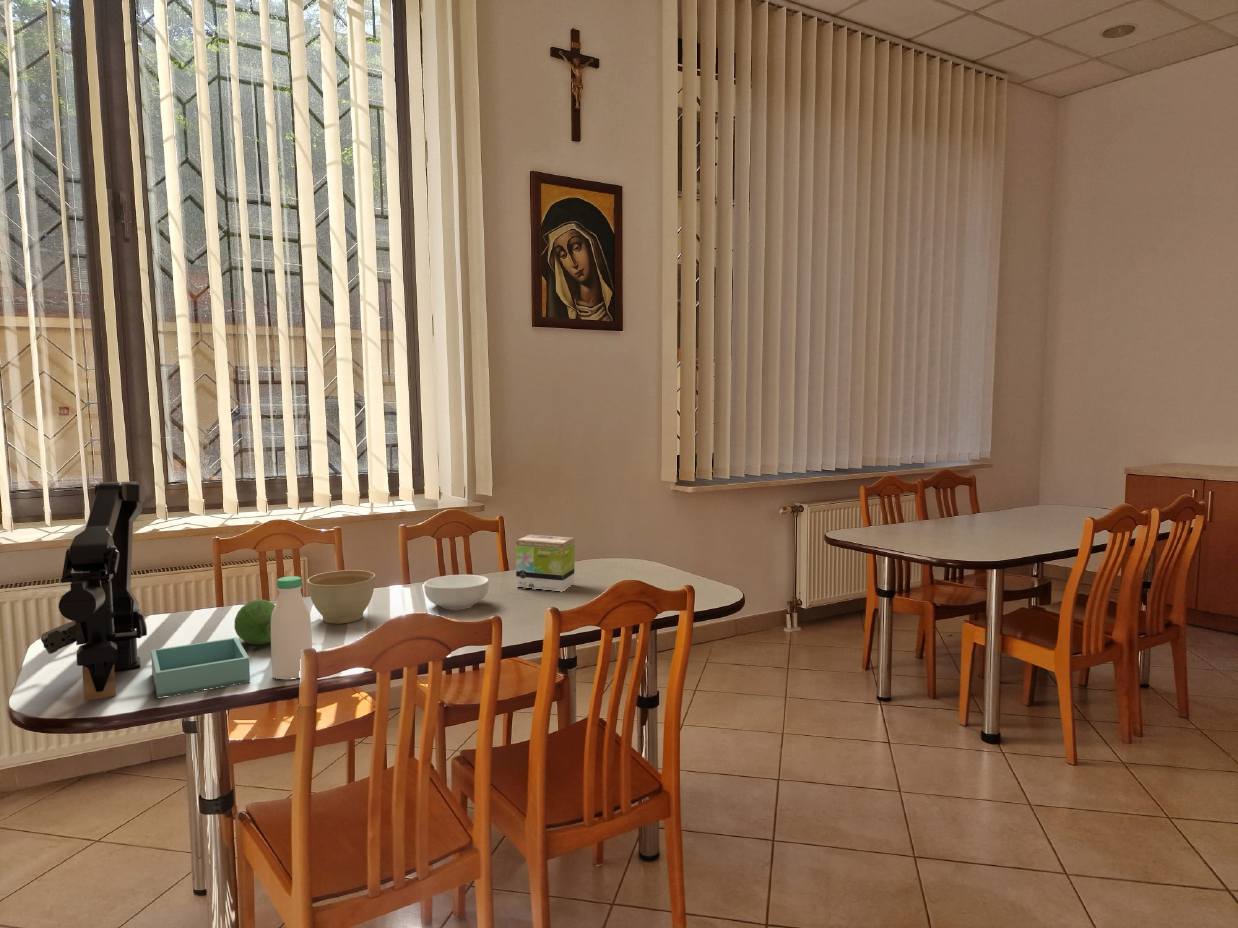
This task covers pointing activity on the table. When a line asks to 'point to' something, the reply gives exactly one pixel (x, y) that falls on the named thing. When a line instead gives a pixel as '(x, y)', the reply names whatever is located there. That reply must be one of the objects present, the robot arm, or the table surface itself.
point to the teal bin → (199, 666)
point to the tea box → (545, 562)
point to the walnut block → (90, 688)
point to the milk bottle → (289, 629)
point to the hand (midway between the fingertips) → (99, 686)
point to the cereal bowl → (456, 590)
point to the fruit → (255, 622)
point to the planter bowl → (341, 594)
